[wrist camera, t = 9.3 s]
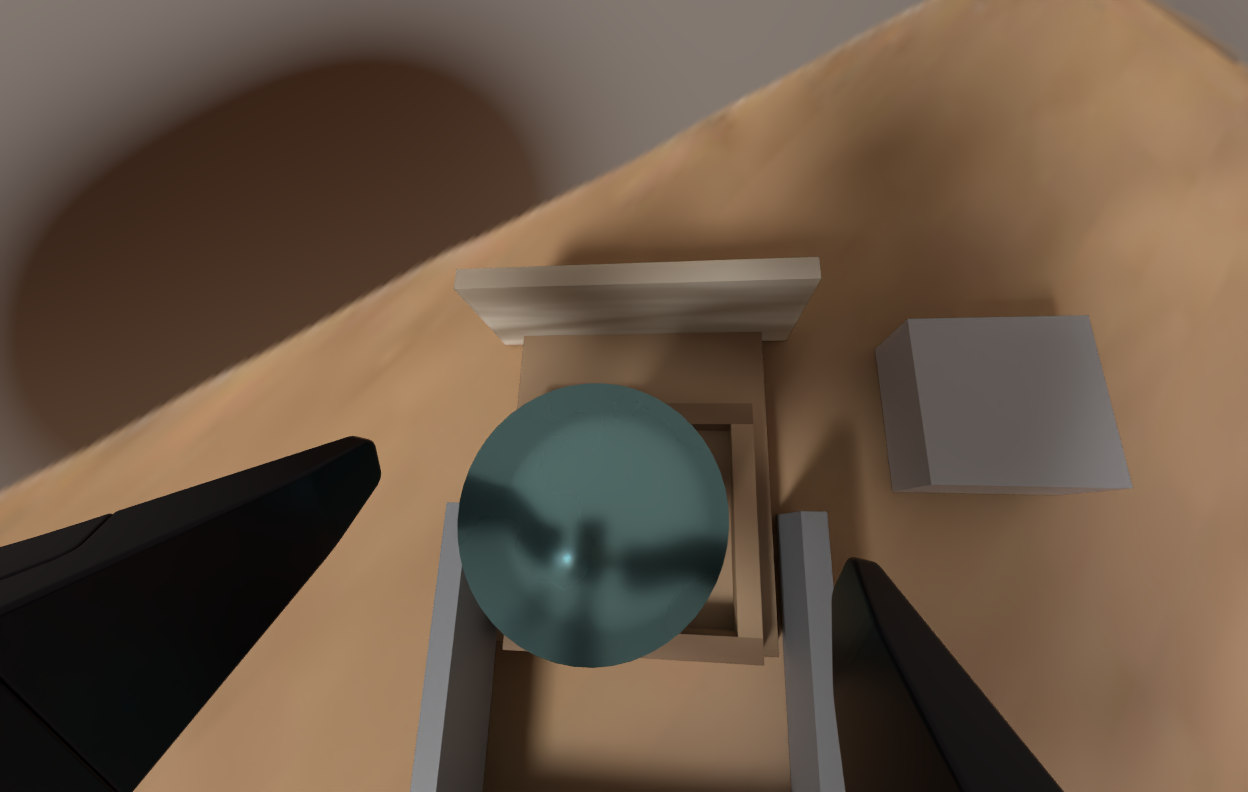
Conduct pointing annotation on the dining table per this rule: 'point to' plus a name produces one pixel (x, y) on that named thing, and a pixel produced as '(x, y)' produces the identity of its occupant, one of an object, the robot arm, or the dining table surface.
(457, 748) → the grey open box
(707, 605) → the beige piece
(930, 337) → the block
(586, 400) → the teal cylinder
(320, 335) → the dining table surface
